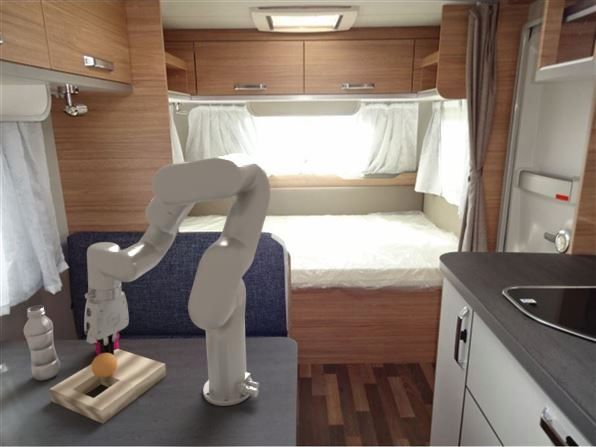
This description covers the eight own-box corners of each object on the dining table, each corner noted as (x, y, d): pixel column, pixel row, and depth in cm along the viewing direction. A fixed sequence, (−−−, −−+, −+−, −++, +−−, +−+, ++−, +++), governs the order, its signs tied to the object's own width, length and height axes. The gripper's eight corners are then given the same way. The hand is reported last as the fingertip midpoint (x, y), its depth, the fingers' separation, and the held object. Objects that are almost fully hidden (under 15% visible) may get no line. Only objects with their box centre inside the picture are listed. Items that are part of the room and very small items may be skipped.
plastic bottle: (66, 372, 109) (56, 305, 105) (42, 386, 103) (30, 316, 99) (51, 366, 112) (40, 301, 107) (27, 380, 106) (14, 311, 101)
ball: (113, 345, 103) (94, 356, 98) (126, 364, 103) (108, 377, 97) (101, 354, 105) (82, 366, 100) (113, 372, 105) (95, 385, 100)
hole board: (166, 375, 108) (165, 363, 107) (102, 423, 90) (101, 410, 89) (118, 359, 115) (117, 348, 114) (51, 401, 98) (49, 388, 97)
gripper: (88, 305, 92) (91, 374, 97) (139, 285, 105) (140, 346, 110) (67, 297, 96) (71, 363, 100) (120, 278, 109) (121, 338, 113)
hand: (107, 354), depth 105 cm, fingers closed
